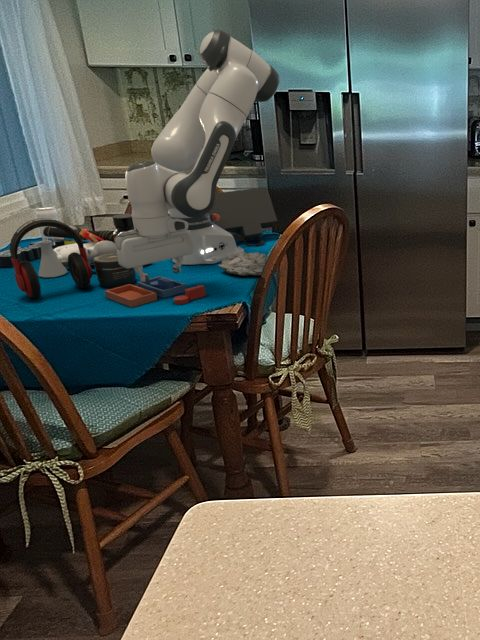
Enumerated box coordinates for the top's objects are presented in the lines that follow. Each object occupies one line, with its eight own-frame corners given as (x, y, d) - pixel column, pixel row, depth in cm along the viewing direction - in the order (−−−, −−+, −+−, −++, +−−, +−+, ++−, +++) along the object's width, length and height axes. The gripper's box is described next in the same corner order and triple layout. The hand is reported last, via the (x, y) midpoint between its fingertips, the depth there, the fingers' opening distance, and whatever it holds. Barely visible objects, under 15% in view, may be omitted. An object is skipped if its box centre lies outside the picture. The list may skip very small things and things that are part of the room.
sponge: (56, 241, 211) (57, 250, 212) (83, 240, 210) (83, 249, 211) (77, 242, 221) (78, 251, 221) (102, 242, 220) (103, 250, 221)
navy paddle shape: (177, 289, 179) (176, 279, 178) (165, 293, 176) (164, 283, 175) (160, 283, 184) (158, 274, 182) (148, 287, 181) (146, 277, 180)
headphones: (87, 281, 187) (70, 211, 179) (99, 289, 181) (82, 217, 172) (18, 295, 176) (-4, 221, 168) (28, 304, 170) (6, 228, 161)
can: (68, 241, 229) (59, 207, 224) (49, 245, 224) (40, 210, 219) (58, 238, 232) (49, 205, 227) (39, 242, 227) (30, 208, 222)
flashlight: (47, 235, 218) (129, 241, 225) (42, 240, 213) (126, 245, 220) (45, 223, 216) (128, 229, 223) (40, 227, 212) (125, 233, 218)
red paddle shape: (200, 294, 177) (198, 284, 176) (208, 296, 175) (206, 286, 174) (171, 302, 171) (169, 292, 170) (179, 305, 169) (177, 295, 168)
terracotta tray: (106, 297, 174) (104, 290, 174) (131, 290, 180) (130, 283, 179) (131, 307, 168) (130, 300, 167) (157, 299, 173) (156, 292, 172)
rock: (259, 255, 207) (214, 271, 199) (256, 243, 204) (210, 258, 197) (284, 273, 195) (237, 290, 188) (281, 260, 193) (233, 277, 186)
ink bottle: (144, 254, 213) (137, 217, 208) (115, 257, 210) (107, 220, 205) (146, 247, 221) (139, 211, 216) (118, 249, 218) (110, 213, 213)
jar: (93, 283, 186) (87, 256, 183) (129, 275, 192) (124, 250, 189) (106, 290, 179) (100, 264, 176) (143, 283, 186) (137, 257, 183)
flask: (55, 279, 189) (46, 245, 185) (33, 277, 191) (24, 243, 186) (72, 271, 196) (64, 239, 192) (52, 270, 197) (43, 237, 193)
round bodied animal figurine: (76, 271, 195) (69, 244, 192) (117, 263, 203) (111, 236, 200) (86, 276, 191) (79, 248, 187) (127, 268, 199) (121, 240, 195)
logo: (47, 237, 220) (72, 239, 218) (49, 247, 221) (74, 249, 219) (-13, 255, 199) (15, 257, 197) (-10, 265, 200) (17, 268, 198)
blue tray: (138, 289, 181) (136, 282, 180) (161, 282, 186) (160, 276, 185) (163, 298, 174) (162, 291, 173) (187, 291, 179) (186, 284, 178)
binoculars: (110, 257, 210) (107, 243, 208) (57, 268, 198) (53, 253, 197) (95, 251, 216) (92, 237, 214) (43, 262, 205) (39, 247, 203)
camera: (186, 212, 230) (199, 255, 230) (194, 195, 216) (208, 241, 216) (255, 203, 243) (267, 243, 243) (266, 186, 229) (280, 229, 229)
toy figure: (114, 254, 217) (79, 236, 207) (107, 247, 221) (72, 230, 211) (118, 248, 217) (83, 230, 207) (111, 241, 221) (76, 223, 211)
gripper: (119, 235, 162) (130, 288, 168) (193, 221, 177) (201, 270, 183) (107, 231, 166) (118, 283, 172) (180, 218, 181) (188, 266, 186)
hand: (161, 276), depth 177 cm, fingers open, 8 cm apart
